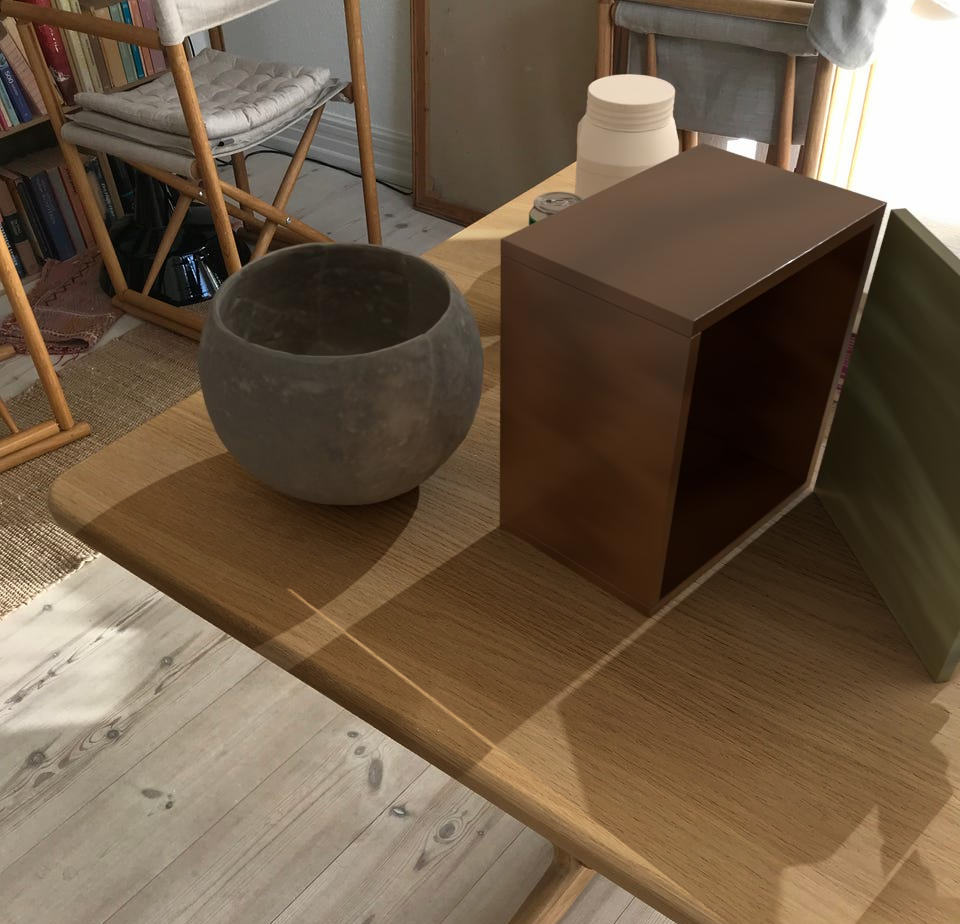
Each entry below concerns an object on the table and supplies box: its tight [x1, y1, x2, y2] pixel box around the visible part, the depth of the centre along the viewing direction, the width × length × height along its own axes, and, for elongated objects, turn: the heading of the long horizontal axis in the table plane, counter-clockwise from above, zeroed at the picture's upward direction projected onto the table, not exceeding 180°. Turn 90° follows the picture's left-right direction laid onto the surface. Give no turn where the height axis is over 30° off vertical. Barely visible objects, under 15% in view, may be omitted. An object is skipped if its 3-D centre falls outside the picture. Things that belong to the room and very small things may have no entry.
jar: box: [574, 73, 680, 200], centre depth 104 cm, size 12×10×15 cm
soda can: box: [528, 191, 583, 226], centre depth 92 cm, size 5×5×12 cm
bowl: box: [197, 241, 485, 506], centre depth 77 cm, size 20×20×15 cm
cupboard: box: [499, 142, 888, 618], centre depth 71 cm, size 14×20×22 cm
